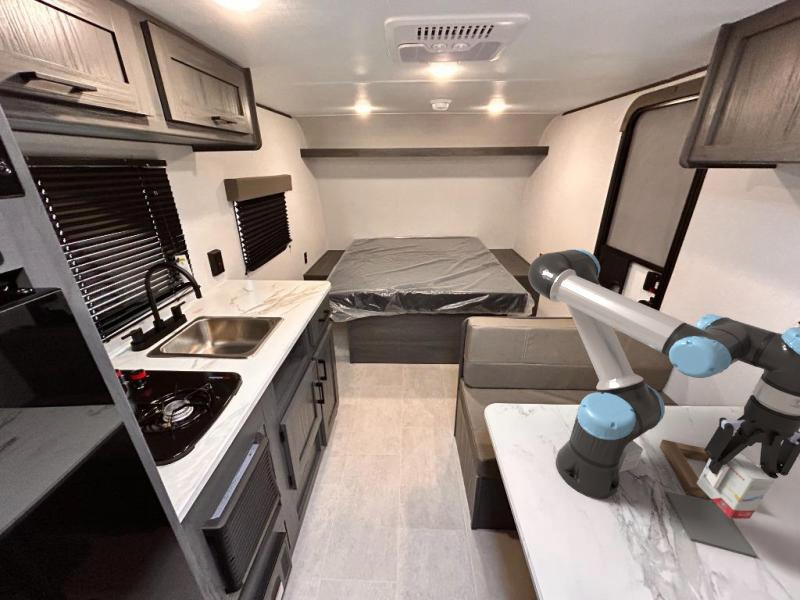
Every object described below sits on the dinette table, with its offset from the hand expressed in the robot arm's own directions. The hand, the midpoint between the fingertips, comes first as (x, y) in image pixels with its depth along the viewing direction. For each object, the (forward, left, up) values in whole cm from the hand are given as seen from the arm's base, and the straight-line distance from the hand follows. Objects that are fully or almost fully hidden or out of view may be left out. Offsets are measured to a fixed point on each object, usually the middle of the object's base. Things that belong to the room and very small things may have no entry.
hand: (729, 486), depth 71 cm
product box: (-15, +13, -13) cm, 24 cm away
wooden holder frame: (+6, +15, -12) cm, 20 cm away
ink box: (0, 0, -5) cm, 5 cm away
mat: (0, 0, -12) cm, 12 cm away
